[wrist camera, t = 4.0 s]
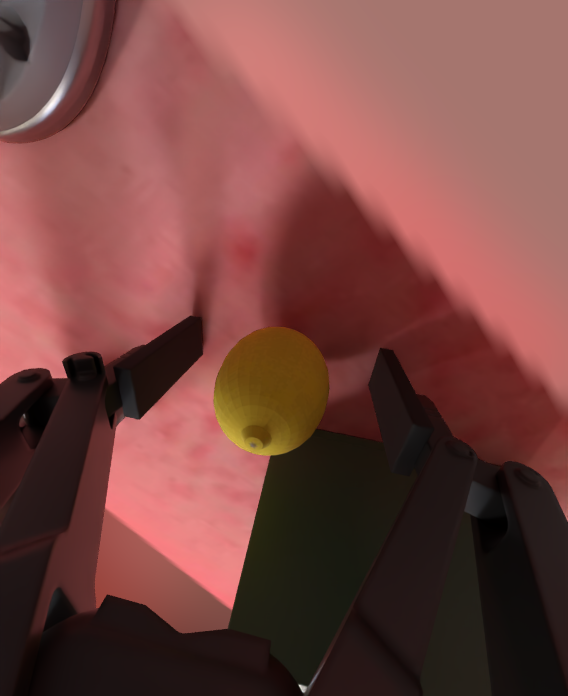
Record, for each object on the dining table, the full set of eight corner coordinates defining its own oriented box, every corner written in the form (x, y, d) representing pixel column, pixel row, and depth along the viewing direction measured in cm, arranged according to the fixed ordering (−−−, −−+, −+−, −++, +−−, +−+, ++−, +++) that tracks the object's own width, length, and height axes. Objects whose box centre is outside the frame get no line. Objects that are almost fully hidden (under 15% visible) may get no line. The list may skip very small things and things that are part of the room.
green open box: (278, 421, 19) (219, 661, 9) (523, 470, 17) (818, 836, 7) (261, 542, 27) (220, 742, 17) (428, 583, 25) (499, 832, 15)
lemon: (231, 321, 16) (154, 399, 9) (315, 297, 14) (303, 366, 7) (262, 391, 18) (219, 498, 11) (338, 376, 16) (346, 489, 9)
